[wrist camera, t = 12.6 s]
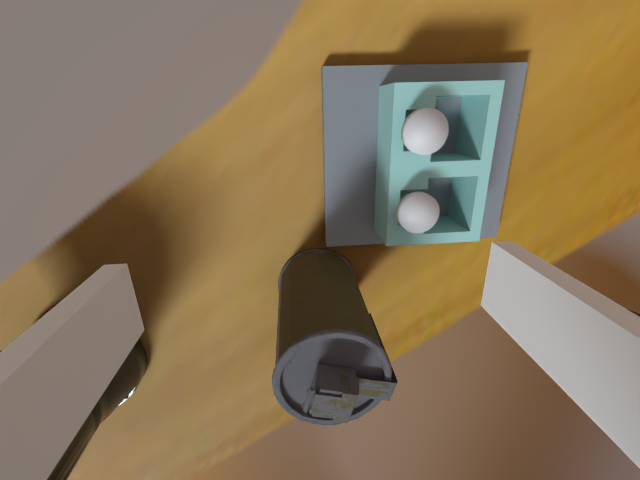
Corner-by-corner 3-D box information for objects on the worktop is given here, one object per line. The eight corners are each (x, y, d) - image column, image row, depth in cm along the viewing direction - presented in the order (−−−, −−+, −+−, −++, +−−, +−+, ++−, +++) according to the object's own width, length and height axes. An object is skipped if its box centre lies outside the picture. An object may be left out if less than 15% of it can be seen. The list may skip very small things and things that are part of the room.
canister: (271, 310, 46) (259, 447, 27) (287, 240, 42) (286, 344, 24) (346, 322, 48) (383, 459, 29) (368, 257, 44) (425, 365, 26)
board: (325, 242, 43) (334, 276, 34) (321, 67, 35) (331, 54, 27) (490, 233, 44) (538, 263, 36) (519, 63, 37) (589, 50, 28)
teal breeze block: (374, 229, 41) (386, 246, 36) (379, 86, 35) (394, 82, 30) (455, 224, 42) (479, 241, 37) (474, 84, 36) (505, 80, 31)
